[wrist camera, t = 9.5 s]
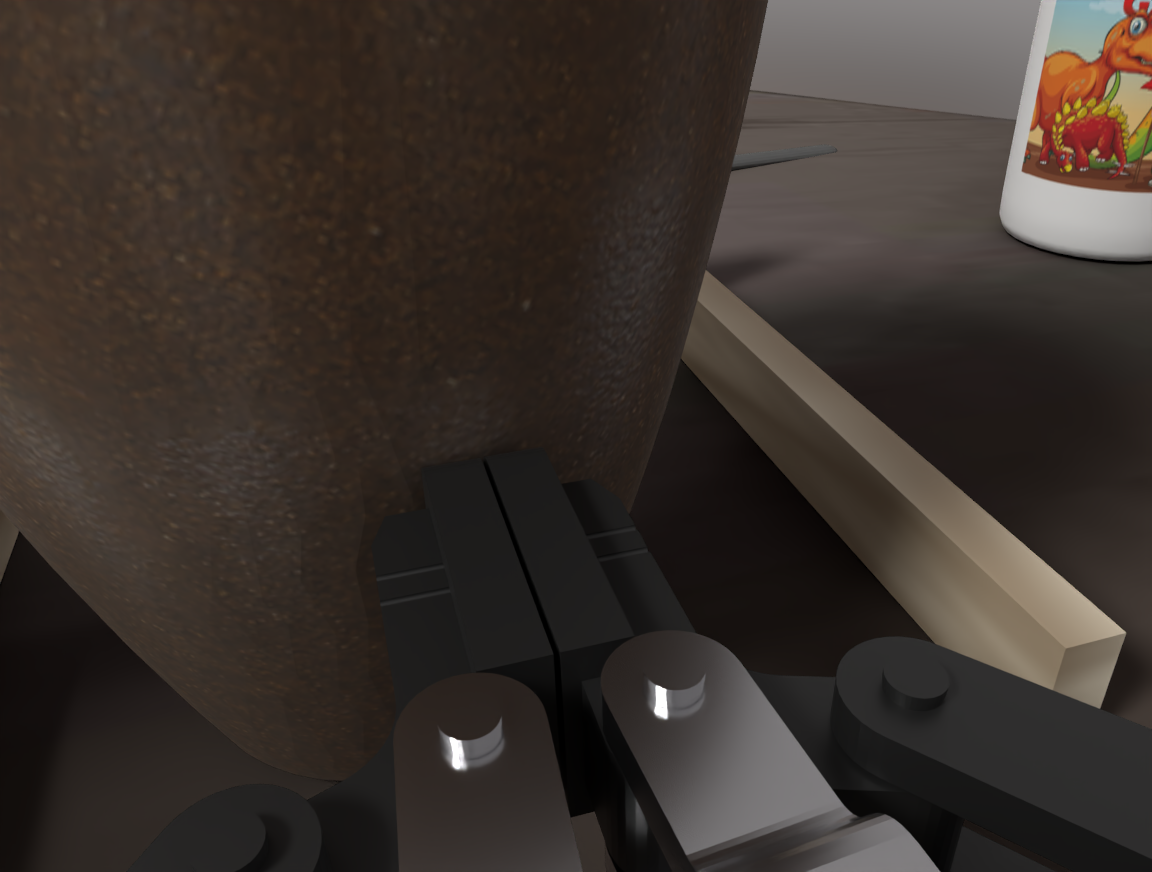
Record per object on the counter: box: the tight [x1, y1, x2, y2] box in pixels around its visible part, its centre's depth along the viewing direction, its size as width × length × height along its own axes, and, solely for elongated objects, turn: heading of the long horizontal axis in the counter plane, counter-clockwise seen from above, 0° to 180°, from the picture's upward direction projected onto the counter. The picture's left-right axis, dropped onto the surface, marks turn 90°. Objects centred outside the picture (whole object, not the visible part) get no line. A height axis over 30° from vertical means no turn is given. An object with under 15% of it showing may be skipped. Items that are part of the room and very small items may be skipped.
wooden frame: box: [0, 270, 1126, 709], centre depth 23 cm, size 21×22×6 cm
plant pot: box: [0, 0, 768, 781], centre depth 16 cm, size 15×15×16 cm
